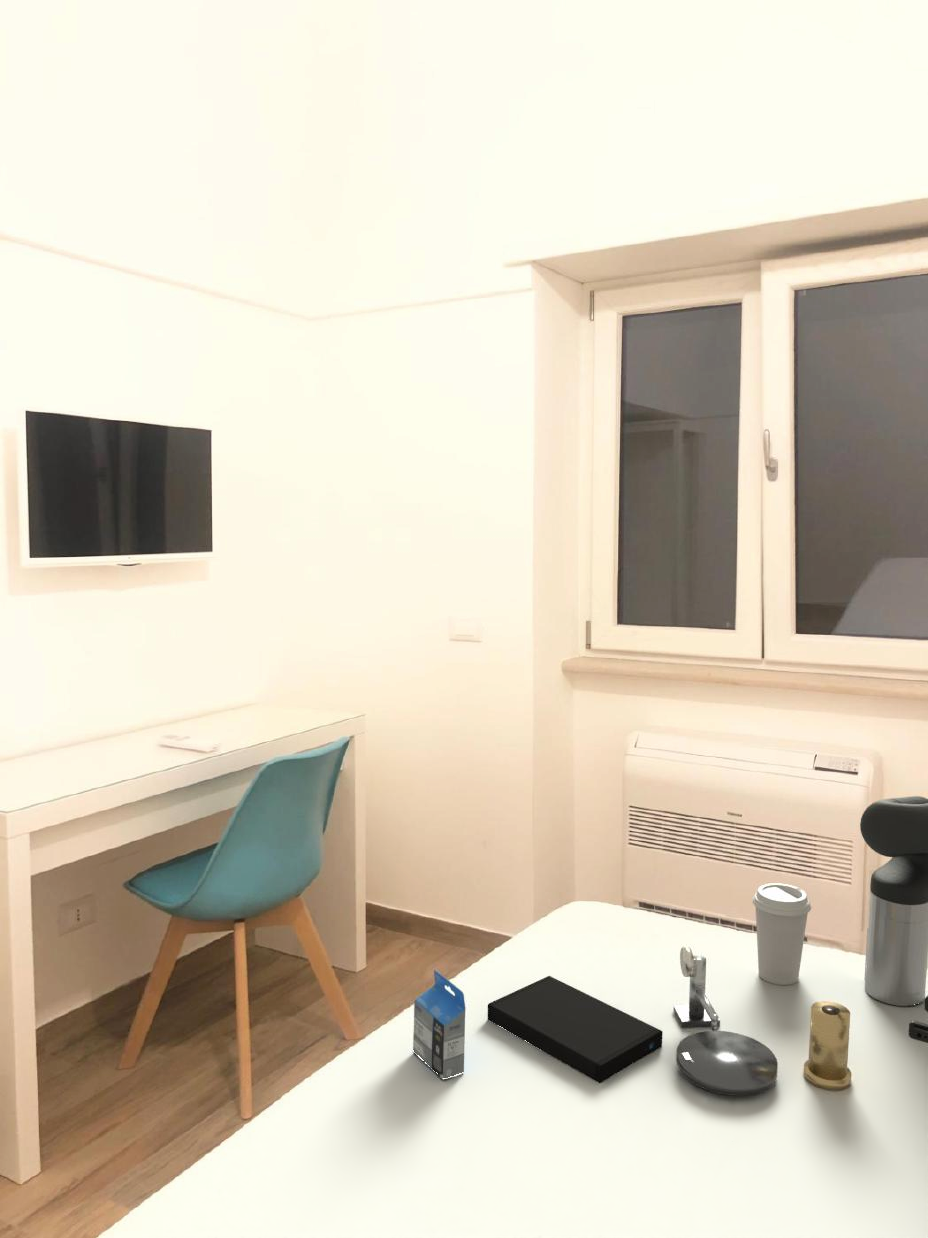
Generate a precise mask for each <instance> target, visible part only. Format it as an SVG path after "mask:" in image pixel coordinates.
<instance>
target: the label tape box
mask: <svg viewBox="0 0 928 1238" xmlns="http://www.w3.org/2000/svg"><path fill="white" fill-rule="evenodd" d="M433 973H434V974H433V976H434V985H433V986H431V987H429V988H428V989H427V990H426V991H425V992H424V993H422V994H421V995H419V996H418V997H417V998H415V999H414V1001H413V1004H414V1005H413V1007H414V1008H413V1037H412V1038H413V1039H412V1041H413V1042H412V1051H413V1050H414V1052H415V1053H416V1054H417V1055H419V1056H420V1057H421V1058H422V1059H423V1060H424V1062H426V1063H427V1064H428V1065H429V1066H430V1067H431V1068H432V1069H433V1070H434V1071H435V1072H437V1073H438V1075H439V1076H440V1077H441V1078H448V1077H450V1076H454V1075H456V1074H459V1073H462V1072H464V1073H465V1043H466V1042H465V1039H466V1038H465V1037H466V1035H465V1034H466V1033H465V1032H466V1030H465V1029H466V1002H465V994H464V992H463V991H462V990H461V989H460V988H459V987H457V985H455V984H454V983H452V982H451V981H450V980H449V979H448V978H447V977H445V976H444V975H442V974H441V973H440V972H438V970H436V969H433ZM446 988H449V989H450V990H451V991H452V992H453V993H454V994H453V993H451V992H450V991H449V990H448V989H446ZM424 1062H423V1063H424ZM435 1072H434V1073H435ZM438 1075H437V1076H438ZM439 1076H438V1077H439ZM440 1077H439V1078H440ZM441 1078H440V1079H441Z"/></svg>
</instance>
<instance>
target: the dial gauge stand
mask: <svg viewBox="0 0 928 1238" xmlns="http://www.w3.org/2000/svg"><path fill="white" fill-rule="evenodd" d="M679 963H680V969H681V973H682V976H683V977H684V978H689V989H688V991H689V998H688V1004H673V1013H674V1015H675V1018H676V1019H677V1021H678V1023H679V1025H680V1027H681V1028H682V1029H683V1028H707V1027H708V1028H711V1030H710V1031H718V1027H720V1026H721V1019H720V1018H719V1015H718V1014H717V1012H716V1011H715V1009H714V1007H713V1006H712V1004H711V1002H710V1000H709V999H708V996H707V994H706V977H707V958H706V957H705V956H703V955H700V954H698V955H697V954H695V955H694V954H693V951H692V949H691V947H690V946H686V947H685V946H683V947H681V949H680V953H679Z"/></svg>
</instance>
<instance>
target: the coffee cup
mask: <svg viewBox="0 0 928 1238" xmlns="http://www.w3.org/2000/svg"><path fill="white" fill-rule="evenodd" d="M807 894H808V893H806V892H805V891H804V890H803V889H802V888H800V887H797V886H794V885H790V884H786V883H778V882H777V883H773V882H772V883H767V884H762V885H761V886H758V888H757V891H756V892H755V894H754V895H753V897H752V904H753V905H754V908H755V922H756V923H755V924H756V925H755V927H756V943H757V944H756V945H757V959H758V960H757V965H758V975H759V977H760V978H761V979H762V980H764V981H765V982H768V983H770V984H774V985H779V986H789V985H793V984H796V983H797V982H798V981H799V977H800V969H801V961H802V957H803V955H802V954H803V948H804V942H805V933H806V927H807V922H808V921H807V920H808V913H809V912H811V910H812V904H811V901H810V899H809V897H808V895H807Z"/></svg>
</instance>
